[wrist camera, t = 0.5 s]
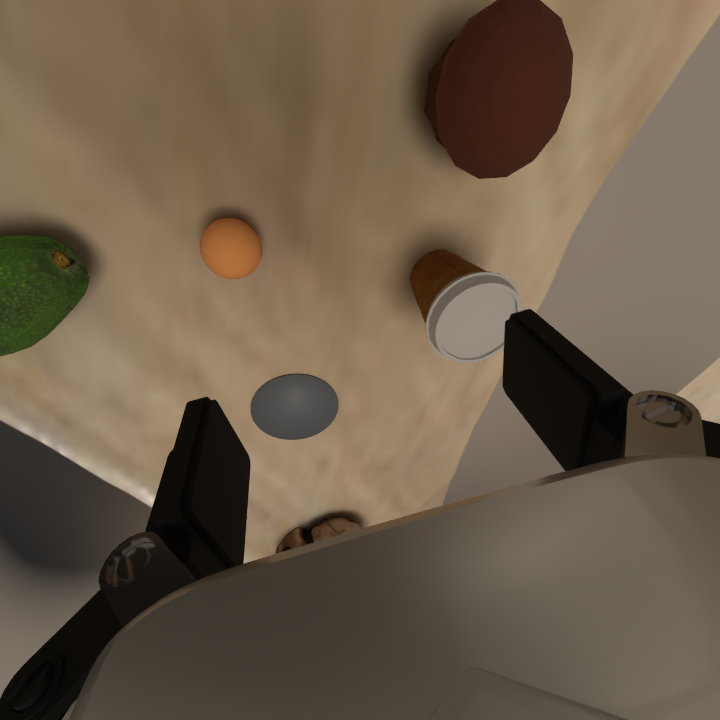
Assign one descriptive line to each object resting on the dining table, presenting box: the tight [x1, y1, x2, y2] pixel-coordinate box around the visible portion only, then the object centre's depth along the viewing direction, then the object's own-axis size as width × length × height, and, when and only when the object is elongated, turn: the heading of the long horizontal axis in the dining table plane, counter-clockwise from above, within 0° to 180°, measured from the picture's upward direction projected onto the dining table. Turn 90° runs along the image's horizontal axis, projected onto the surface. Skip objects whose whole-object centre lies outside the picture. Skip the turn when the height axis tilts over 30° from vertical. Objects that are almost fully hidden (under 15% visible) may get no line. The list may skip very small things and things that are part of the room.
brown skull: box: [276, 517, 363, 554], centre depth 67 cm, size 16×17×13 cm
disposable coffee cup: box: [410, 250, 523, 363], centre depth 40 cm, size 10×10×12 cm
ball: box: [200, 218, 262, 279], centre depth 36 cm, size 6×6×6 cm
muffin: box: [424, 0, 573, 179], centre depth 31 cm, size 12×11×10 cm
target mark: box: [251, 374, 338, 440], centre depth 52 cm, size 12×12×1 cm
